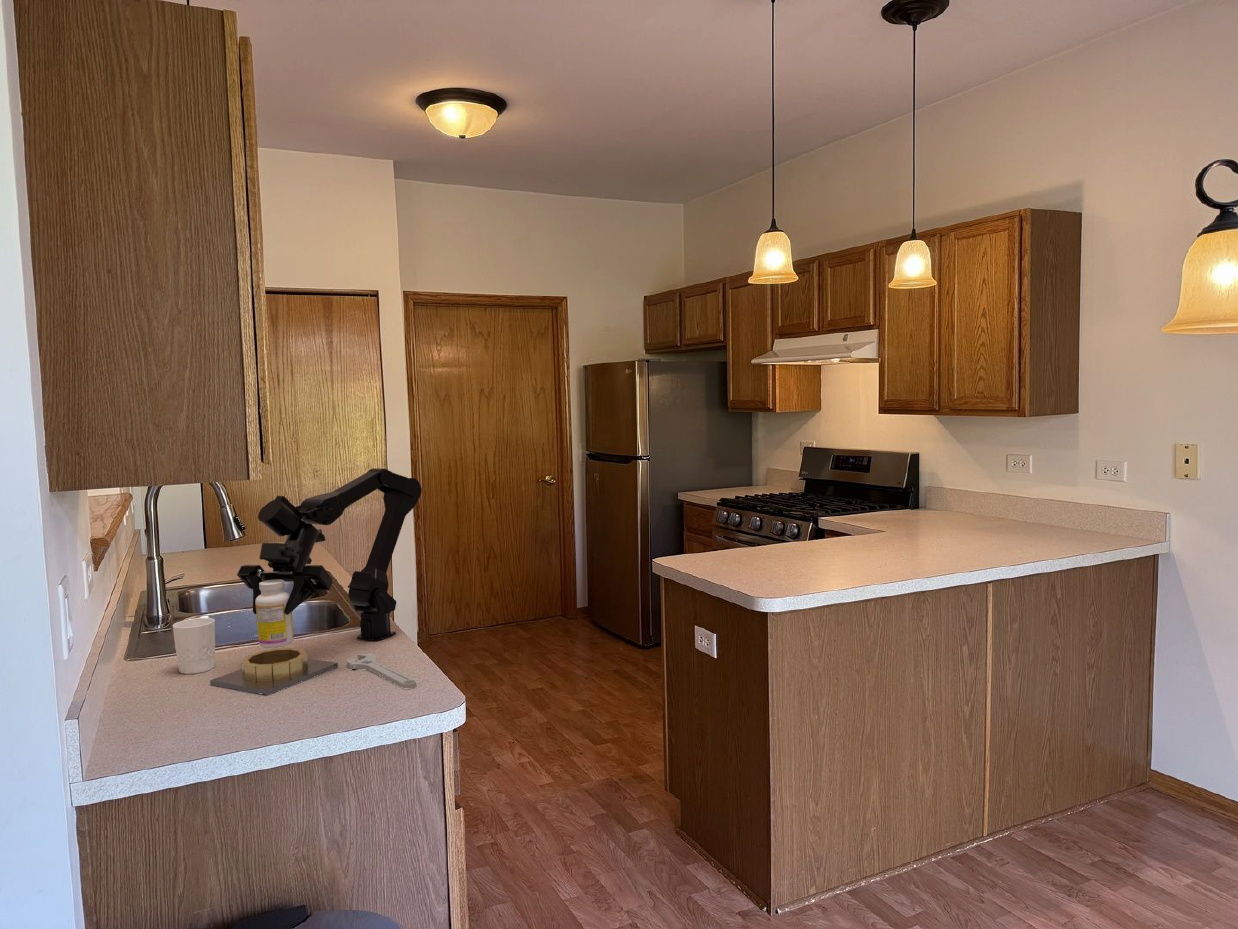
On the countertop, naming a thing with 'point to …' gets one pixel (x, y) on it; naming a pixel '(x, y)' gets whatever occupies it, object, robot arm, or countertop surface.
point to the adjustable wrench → (380, 670)
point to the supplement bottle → (273, 615)
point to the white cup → (195, 645)
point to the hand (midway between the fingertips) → (270, 613)
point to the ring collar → (273, 671)
